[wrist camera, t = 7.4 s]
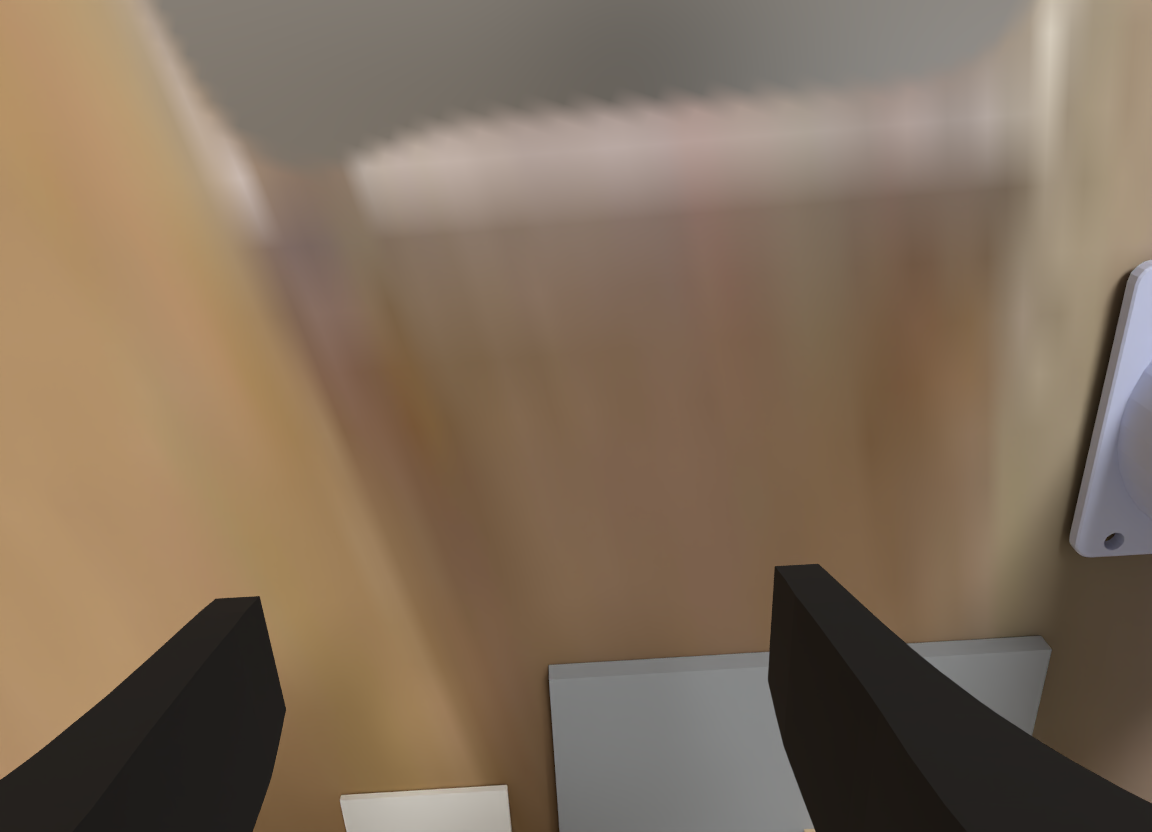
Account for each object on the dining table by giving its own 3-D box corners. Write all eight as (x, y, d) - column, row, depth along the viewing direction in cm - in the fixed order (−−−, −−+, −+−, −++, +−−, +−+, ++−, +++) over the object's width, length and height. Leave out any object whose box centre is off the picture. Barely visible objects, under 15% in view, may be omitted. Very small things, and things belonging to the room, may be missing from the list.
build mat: (1041, 635, 26) (1051, 649, 25) (978, 916, 31) (985, 933, 31) (548, 664, 26) (548, 679, 25) (568, 943, 31) (568, 960, 30)
